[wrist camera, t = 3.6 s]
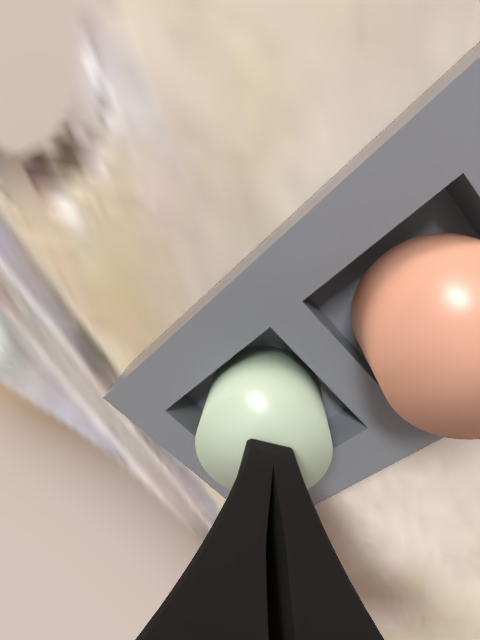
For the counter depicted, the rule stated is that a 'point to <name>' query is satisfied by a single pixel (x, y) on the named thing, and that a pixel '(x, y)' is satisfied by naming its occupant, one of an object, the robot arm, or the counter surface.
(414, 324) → the button terracotta
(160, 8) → the counter surface
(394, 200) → the grey slotted tray
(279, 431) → the button sage
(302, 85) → the counter surface
